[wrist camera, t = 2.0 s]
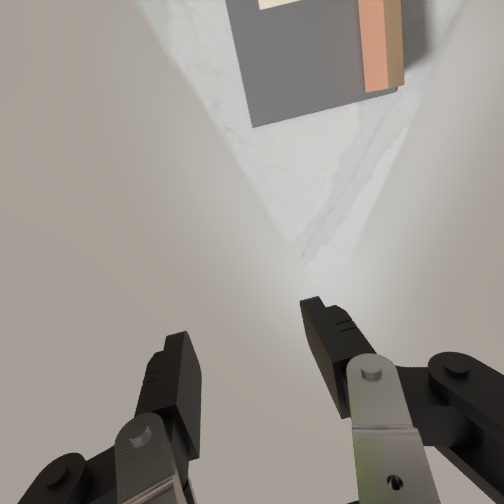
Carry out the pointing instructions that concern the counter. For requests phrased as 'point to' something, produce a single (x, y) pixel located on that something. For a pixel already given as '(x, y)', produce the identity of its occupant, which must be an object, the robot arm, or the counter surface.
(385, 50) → the hinged fence section
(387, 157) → the counter surface
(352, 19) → the card
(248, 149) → the counter surface
